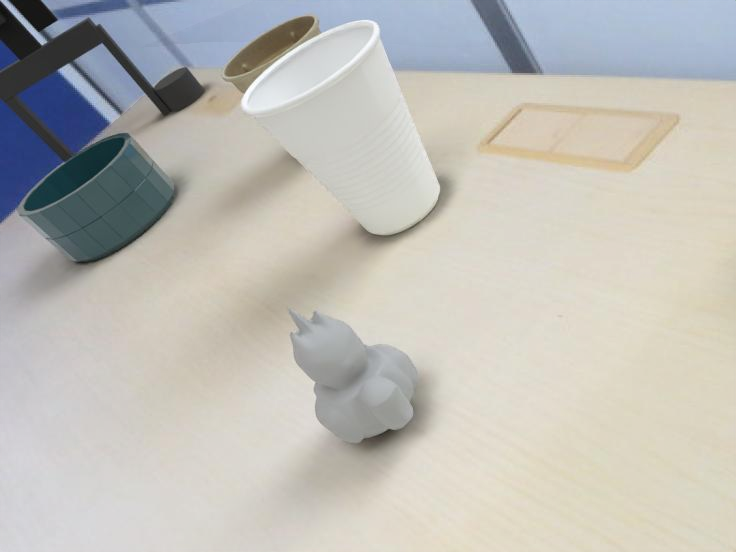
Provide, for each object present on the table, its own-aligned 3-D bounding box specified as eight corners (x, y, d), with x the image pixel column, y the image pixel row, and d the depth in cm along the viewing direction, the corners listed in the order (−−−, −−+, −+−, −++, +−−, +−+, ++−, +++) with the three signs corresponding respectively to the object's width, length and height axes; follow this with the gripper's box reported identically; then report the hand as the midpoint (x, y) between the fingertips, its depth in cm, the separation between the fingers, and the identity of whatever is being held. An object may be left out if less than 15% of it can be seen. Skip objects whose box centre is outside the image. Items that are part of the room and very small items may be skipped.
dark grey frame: (68, 179, 94) (-24, 89, 85) (72, 165, 97) (-16, 77, 88) (205, 96, 94) (127, -2, 85) (204, 85, 97) (129, -11, 88)
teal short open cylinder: (50, 274, 74) (-7, 225, 70) (121, 197, 81) (73, 148, 76) (131, 255, 69) (75, 201, 65) (199, 174, 76) (153, 121, 71)
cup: (401, 168, 59) (312, 28, 51) (491, 166, 53) (407, 9, 45) (321, 253, 55) (211, 116, 47) (410, 261, 49) (302, 107, 41)
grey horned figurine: (397, 367, 42) (307, 257, 36) (463, 404, 38) (373, 287, 32) (327, 435, 41) (221, 332, 35) (388, 482, 37) (279, 373, 31)
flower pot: (351, 157, 64) (284, 59, 58) (271, 178, 68) (200, 88, 61) (392, 97, 69) (334, 1, 63) (315, 120, 73) (254, 32, 67)
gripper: (-174, -202, 62) (53, 47, 77) (-94, -204, 79) (79, 0, 95) (-250, -154, 62) (-8, 85, 77) (-154, -166, 79) (29, 31, 95)
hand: (40, 39), depth 86 cm, fingers open, 13 cm apart
